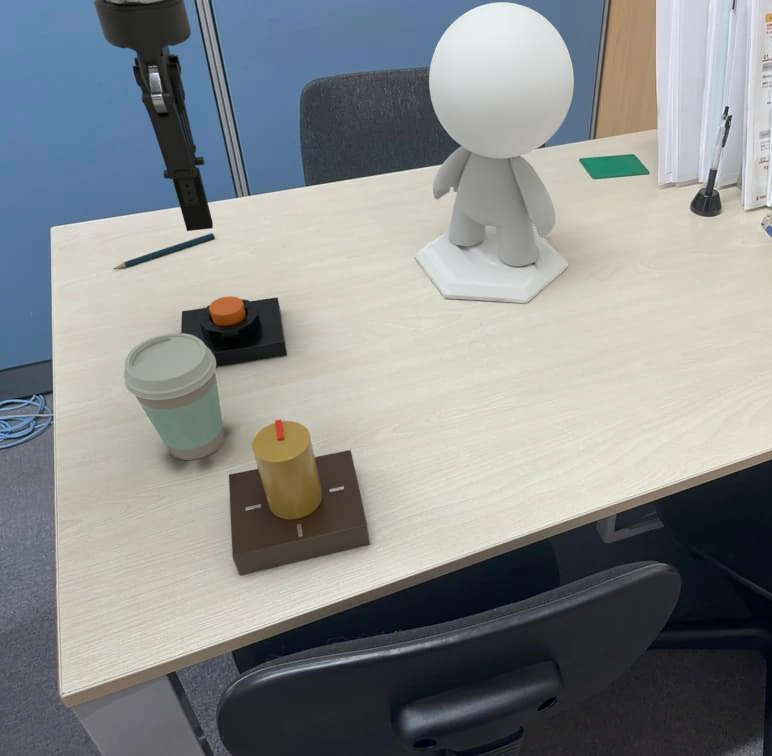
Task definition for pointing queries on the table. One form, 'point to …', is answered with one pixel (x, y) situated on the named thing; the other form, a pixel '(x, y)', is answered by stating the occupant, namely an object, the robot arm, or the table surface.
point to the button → (227, 311)
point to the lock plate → (296, 536)
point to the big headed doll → (497, 152)
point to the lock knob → (288, 469)
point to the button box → (240, 333)
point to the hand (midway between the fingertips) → (199, 226)
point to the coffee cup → (178, 392)
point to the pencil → (166, 251)
